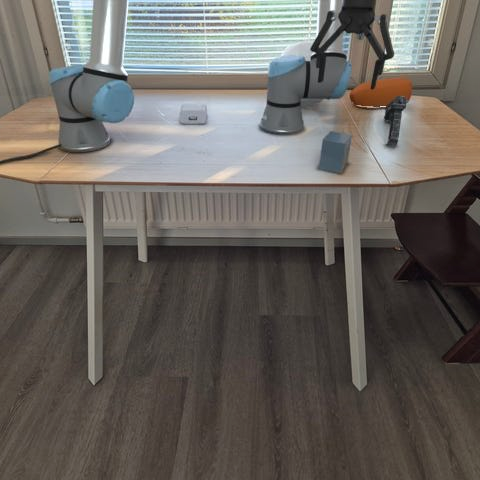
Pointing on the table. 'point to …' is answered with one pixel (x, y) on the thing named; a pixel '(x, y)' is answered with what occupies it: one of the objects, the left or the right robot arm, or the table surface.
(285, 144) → the table surface
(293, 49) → the decorative sphere
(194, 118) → the charger
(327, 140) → the block
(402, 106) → the futuristic handgun
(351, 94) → the clog
